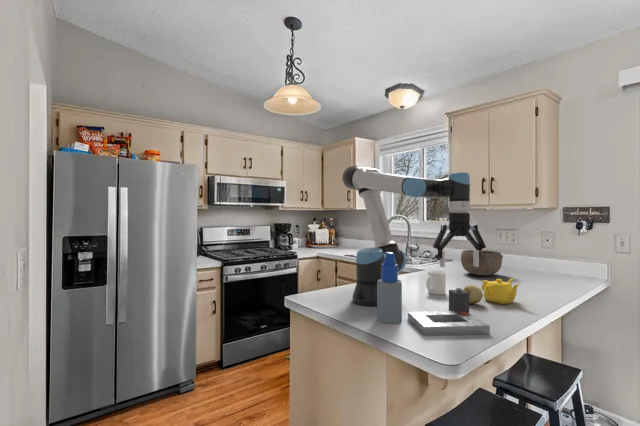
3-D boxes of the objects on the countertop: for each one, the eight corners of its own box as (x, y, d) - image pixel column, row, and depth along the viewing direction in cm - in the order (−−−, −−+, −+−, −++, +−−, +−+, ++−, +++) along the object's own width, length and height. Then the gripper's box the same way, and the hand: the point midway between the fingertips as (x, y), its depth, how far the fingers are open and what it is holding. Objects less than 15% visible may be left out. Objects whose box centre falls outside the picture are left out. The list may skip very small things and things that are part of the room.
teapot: (520, 307, 140) (520, 283, 140) (484, 304, 145) (485, 281, 144) (512, 298, 153) (513, 277, 153) (480, 296, 158) (480, 275, 157)
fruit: (459, 301, 148) (459, 283, 148) (478, 301, 148) (478, 283, 148) (466, 306, 141) (466, 287, 141) (486, 306, 141) (486, 287, 141)
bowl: (504, 274, 214) (504, 250, 214) (501, 280, 193) (501, 254, 193) (464, 270, 227) (464, 248, 227) (457, 276, 206) (457, 252, 206)
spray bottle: (380, 324, 118) (380, 254, 118) (374, 316, 127) (374, 251, 127) (405, 323, 119) (405, 253, 119) (397, 315, 128) (397, 250, 128)
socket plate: (424, 335, 107) (424, 324, 107) (407, 319, 123) (407, 310, 123) (489, 334, 109) (489, 323, 109) (465, 318, 125) (465, 309, 125)
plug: (455, 316, 127) (455, 290, 127) (448, 312, 132) (448, 286, 132) (469, 316, 127) (469, 289, 127) (462, 312, 133) (462, 286, 133)
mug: (433, 297, 156) (434, 275, 156) (419, 293, 163) (419, 272, 163) (449, 293, 163) (449, 272, 163) (434, 290, 170) (434, 269, 170)
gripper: (432, 212, 125) (432, 268, 125) (495, 212, 127) (495, 267, 127) (424, 212, 133) (424, 265, 133) (484, 212, 134) (484, 264, 134)
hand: (459, 266), depth 130 cm, fingers open, 13 cm apart
